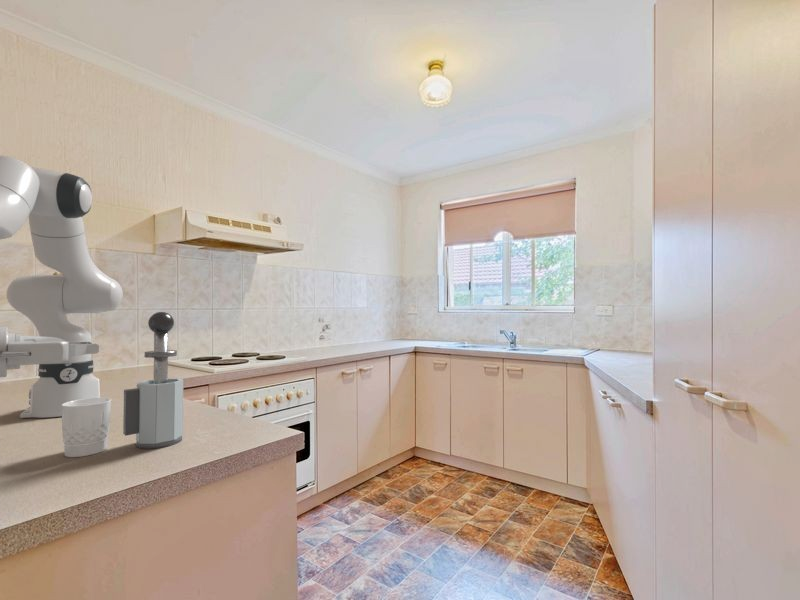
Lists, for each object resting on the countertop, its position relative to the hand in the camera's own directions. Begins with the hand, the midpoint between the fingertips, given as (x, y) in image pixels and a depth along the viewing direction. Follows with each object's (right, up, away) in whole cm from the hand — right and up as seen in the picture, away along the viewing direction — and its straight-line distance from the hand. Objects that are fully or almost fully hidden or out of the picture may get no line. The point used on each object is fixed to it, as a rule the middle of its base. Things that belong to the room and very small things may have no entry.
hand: (94, 347), depth 77 cm
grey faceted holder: (+7, -21, +7) cm, 24 cm away
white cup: (-3, -21, +2) cm, 22 cm away
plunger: (+8, -19, +7) cm, 22 cm away
